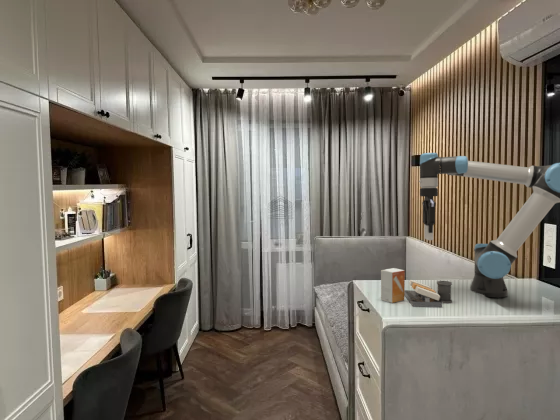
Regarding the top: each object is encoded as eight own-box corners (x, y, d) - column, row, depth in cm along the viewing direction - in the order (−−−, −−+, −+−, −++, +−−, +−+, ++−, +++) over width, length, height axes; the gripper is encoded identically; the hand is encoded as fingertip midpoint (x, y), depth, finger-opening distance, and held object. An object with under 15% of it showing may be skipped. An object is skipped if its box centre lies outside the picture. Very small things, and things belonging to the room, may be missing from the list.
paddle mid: (432, 294, 160) (433, 290, 160) (434, 296, 157) (436, 292, 157) (411, 286, 161) (413, 282, 161) (413, 288, 158) (415, 284, 158)
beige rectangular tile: (436, 298, 154) (437, 293, 154) (438, 300, 151) (440, 296, 151) (414, 290, 155) (416, 286, 155) (416, 292, 152) (418, 288, 152)
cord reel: (449, 299, 160) (449, 280, 160) (453, 303, 155) (453, 284, 154) (435, 299, 161) (435, 280, 161) (439, 303, 156) (439, 283, 155)
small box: (392, 303, 156) (392, 272, 155) (380, 300, 161) (380, 269, 161) (405, 300, 160) (405, 269, 160) (393, 297, 166) (393, 267, 165)
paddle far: (428, 290, 166) (430, 286, 166) (430, 292, 163) (432, 288, 163) (408, 283, 167) (410, 279, 167) (410, 285, 164) (411, 281, 164)
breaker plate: (430, 295, 167) (430, 287, 167) (442, 307, 150) (442, 298, 149) (404, 294, 169) (404, 286, 169) (413, 306, 151) (412, 297, 151)
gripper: (416, 188, 178) (416, 237, 179) (424, 187, 162) (424, 241, 163) (432, 187, 177) (432, 237, 178) (443, 187, 161) (442, 241, 162)
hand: (428, 239), depth 170 cm, fingers open, 3 cm apart
